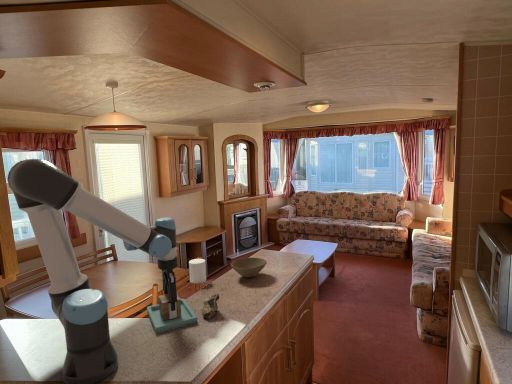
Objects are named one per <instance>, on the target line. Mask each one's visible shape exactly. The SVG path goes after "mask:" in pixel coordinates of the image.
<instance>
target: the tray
mask: <svg viewBox="0 0 512 384" xmlns="http://www.w3.org/2000/svg"><path fill="white" fill-rule="evenodd" d="M180 299H181V316H180V317H176V318H172V319H168V320H163V319H162V317H161V315H160V310H159V303H158V304H154V305H149V306H146V311H147V312H146V313H147V315H148V318H149V320H150V322H151V325H152V327H153V330H154V332H155V334H156V333H157V334H160V333H164V332H168V331H171V330H170V329H172V330H174V328H175V329H179V328H182V326H183V327H186V325H187V326H189V325H193V324H198V317H197V315H196V313H195V312H194V311H193V309H192V308H191V307H190V305H189V304H188V302H187V301H186V300H185V298H180ZM178 327H179V328H178ZM167 330H168V331H167Z"/></svg>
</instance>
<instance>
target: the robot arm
mask: <svg viewBox="0 0 512 384" xmlns="http://www.w3.org/2000/svg"><path fill="white" fill-rule="evenodd" d="M7 184H8V186H9V188H10V189H11V190H12V192H13V195H14V198H15V201H16V204H17V207H18V209H19V210H21V211H23V212H25V213H26V214H27V217H28V220H29V223H30V225H31V229H32V231H33V235H34V238H35V241H36V242H37V245H38V248H39V252H40V255H41V259H42V261H43V263H44V266H45V269H46V272H47V274H48V278H49V280H50V283H51V284H50V285H49V287H48V289H47V293H48V296H49V299H50V303H51V309H52V311H53V314H54V315H56V317H57V319H58V320H59V321H60V323H61V325H62V326H63V329H64V333H65V334H64V335H65V345H66V354H65V358H64V362H63V365H62V369H61V370H62V371H61V374H62V375H61V376H62V381H63V383H64V384H96V383H99V382H101V381H103V380H105V379H107V378H108V377H109V376H111V375H112V374H113V373H114V372H115V371H116V370H117V368H118V365H119V358H118V357H119V356H118V353H117V351H116V349H115V347H114V345H113V343H112V341H111V336H110V324H109V313H108V312H109V311H108V307H109V305H108V304H109V303H108V301H107V296H106V294H105V293H104V292H103V291H101V289H100V290H99V289H93V288H92V286H91V283H90V280H89V278H88V275H87V274H85V273H82V272H81V270H80V267H79V264H78V260H77V257H76V253H75V251H74V250H75V249H74V248H73V243H72V242H71V238H70V235H69V232H68V228H67V226H66V222H65V220H64V216H63V214H62V210H65V211H66V212H69V213H70V214H73V215H74V216H77V217H79V218H80V219H82V220H83V221H85V222H88V223H89V224H92V225H93V226H95V227H97V228H99V229H101V230H104V231H105V232H107V233H109V234H111V235H112V236H115V237H116V238H118V239H120V240H121V241H122V244H123V246H124V249H125V250H126V251H128V252H129V251H137V250H140V251H142V252H144V253H146V254H148V255H150V256H152V257H153V258H156V259H157V268H158V269H159V270H161V278H162V279H161V280H162V292H163V295H168V296H169V302H167V303H169V318H170V319H172V318H176V317H177V310H176V302H177V295H178V293H177V285H176V284H177V282H176V280H177V277H176V274H175V273H176V272H174V269H176V268H177V267H178V265H179V264H178V262H179V261H178V257H177V256H178V252H177V251H178V250H179V247H177V231H176V230H177V227H176V222H175V219H174V218H173V217H160V218H157V219H155V220H154V225H150V226H148V225H146V224H144V223H143V222H141V221H139V220H138V219H136V218H134V217H132V216H131V215H129V214H127V213H126V212H124V211H122V210H120V209H118V207H115V206H114V205H112V204H110V203H109V202H107V201H105V200H103V199H102V198H100V197H99V196H97V195H95V194H94V193H92V192H90V191H88V190H87V189H85V188H83V187H82V186H81V182H80V181H79V180H77V179H75V178H74V177H72V176H70V175H69V174H68V173H66V172H65V171H63V170H62V169H61V168H60V167H58V165H55V164H54V163H52V162H50V161H48V160H46V159H39V158H30V159H27V158H26V159H22V160H20V161H18V162H16V163H15V164H14V165H13V166H11V168H10V170H9V171H8V174H7Z"/></svg>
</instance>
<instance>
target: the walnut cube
mask: <svg viewBox="0 0 512 384" xmlns="http://www.w3.org/2000/svg"><path fill="white" fill-rule="evenodd" d="M181 299H182V298H180V296H179V295H178V294H177V302H176V310H177V317H180V316H181ZM167 302H169V296H168V295H165V294H163V295H159V296H158V304H159V310H160V315H161V317H162V319H163V320H168V319H170V318H169V303H167Z"/></svg>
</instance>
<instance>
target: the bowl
mask: <svg viewBox="0 0 512 384" xmlns="http://www.w3.org/2000/svg"><path fill="white" fill-rule="evenodd" d="M267 262H268V261H267V260H266V259H264V258H262V257H242V258H241V257H240V258H238V259H234V260H233V261H232V262H231V264H230V265H231V267H232V269H233V270H234V271H235V272H236V273H237V274H239V275H240V276H242V277H244V278H253V277H255V276H257V275H258V274H259V273H261V271H262V270H264V268H265V267H266V266H267Z"/></svg>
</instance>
